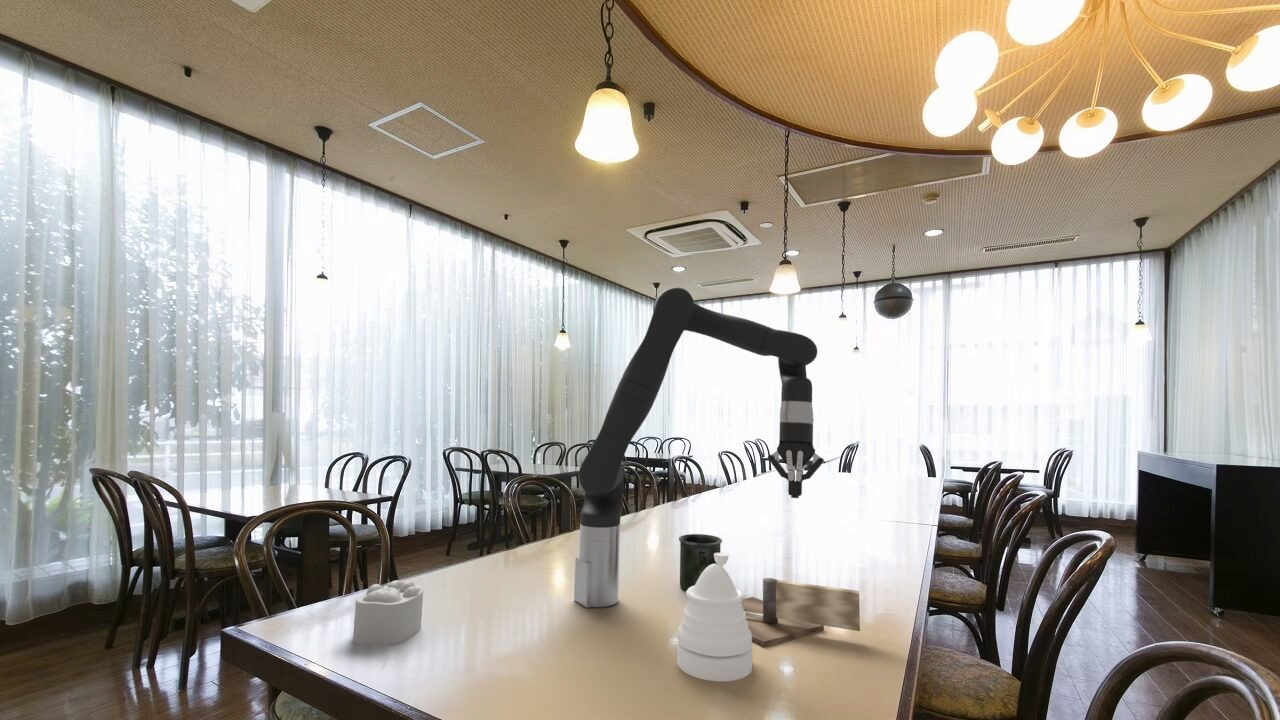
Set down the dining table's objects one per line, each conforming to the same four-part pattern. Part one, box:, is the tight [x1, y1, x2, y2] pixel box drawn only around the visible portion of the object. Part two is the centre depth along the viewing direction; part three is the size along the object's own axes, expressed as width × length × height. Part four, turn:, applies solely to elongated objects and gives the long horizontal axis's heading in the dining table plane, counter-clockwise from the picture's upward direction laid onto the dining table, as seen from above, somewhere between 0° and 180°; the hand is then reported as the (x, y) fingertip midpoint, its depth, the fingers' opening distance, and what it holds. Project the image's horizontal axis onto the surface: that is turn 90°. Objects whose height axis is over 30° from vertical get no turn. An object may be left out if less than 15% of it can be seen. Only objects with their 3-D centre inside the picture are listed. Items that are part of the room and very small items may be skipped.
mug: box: [678, 533, 723, 592], centre depth 137 cm, size 11×15×12 cm
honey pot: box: [676, 552, 753, 682], centre depth 96 cm, size 13×13×18 cm
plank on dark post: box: [744, 577, 861, 632], centre depth 112 cm, size 28×3×8 cm, turn 67°
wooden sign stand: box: [741, 596, 825, 648], centre depth 116 cm, size 17×20×1 cm
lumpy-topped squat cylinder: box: [352, 579, 424, 647], centre depth 107 cm, size 10×13×9 cm
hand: (795, 497), depth 127 cm, fingers closed
